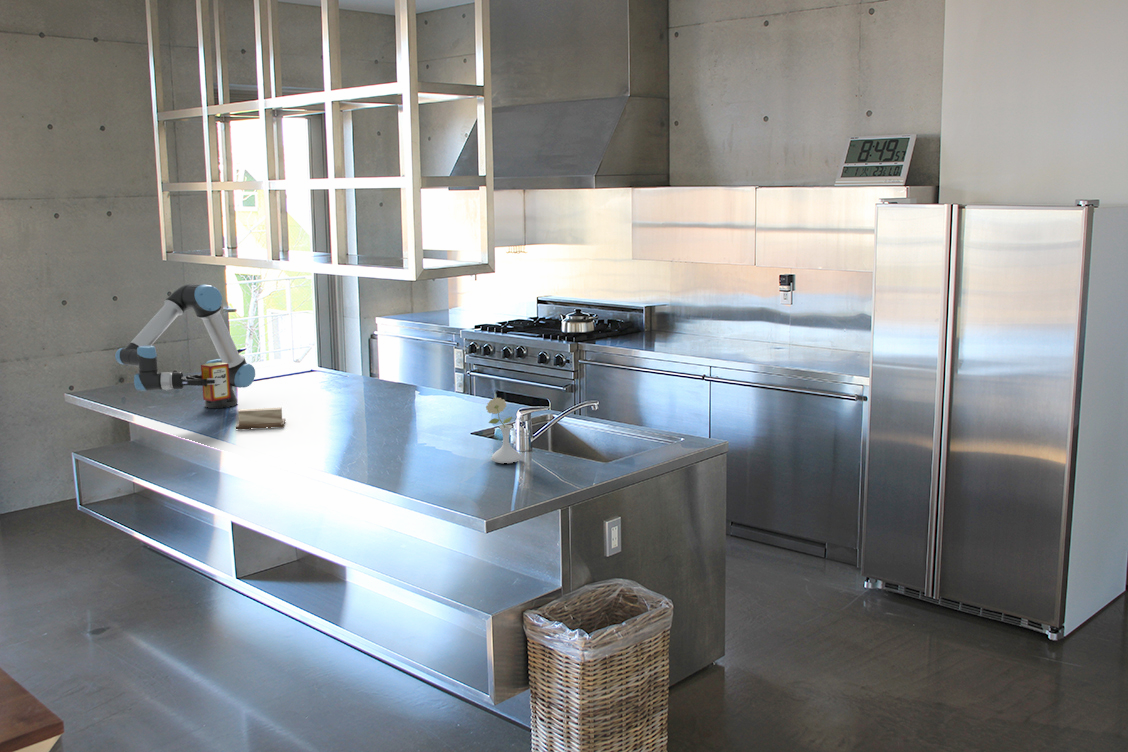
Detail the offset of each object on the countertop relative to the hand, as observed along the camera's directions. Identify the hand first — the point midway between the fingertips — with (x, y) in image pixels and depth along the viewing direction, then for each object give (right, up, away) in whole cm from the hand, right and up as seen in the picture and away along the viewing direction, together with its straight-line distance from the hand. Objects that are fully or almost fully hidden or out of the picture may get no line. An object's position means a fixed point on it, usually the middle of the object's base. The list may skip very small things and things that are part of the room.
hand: (225, 378), depth 418 cm
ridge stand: (+16, -21, 0) cm, 26 cm away
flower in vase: (+128, -32, -62) cm, 146 cm away
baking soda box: (-4, -9, +1) cm, 10 cm away
